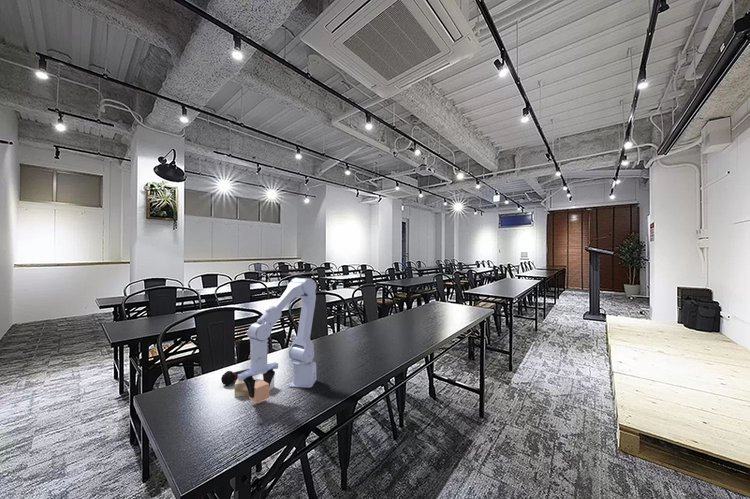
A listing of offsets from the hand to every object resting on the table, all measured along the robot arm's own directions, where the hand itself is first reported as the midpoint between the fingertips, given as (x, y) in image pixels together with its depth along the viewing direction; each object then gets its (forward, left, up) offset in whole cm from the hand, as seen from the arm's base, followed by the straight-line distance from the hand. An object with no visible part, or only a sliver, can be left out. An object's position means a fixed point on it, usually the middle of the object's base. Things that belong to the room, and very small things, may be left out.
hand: (259, 394), depth 104 cm
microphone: (+18, -20, -4) cm, 27 cm away
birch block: (+10, -7, -4) cm, 13 cm away
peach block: (0, 0, -1) cm, 1 cm away
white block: (+3, -11, -4) cm, 12 cm away
